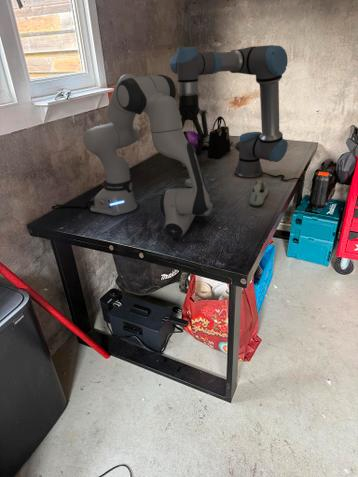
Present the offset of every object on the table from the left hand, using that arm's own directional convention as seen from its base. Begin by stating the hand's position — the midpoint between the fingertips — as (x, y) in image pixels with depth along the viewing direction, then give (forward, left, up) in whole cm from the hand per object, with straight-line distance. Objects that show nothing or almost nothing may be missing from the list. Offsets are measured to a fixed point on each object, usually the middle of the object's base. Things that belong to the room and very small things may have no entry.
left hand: (192, 199), depth 147 cm
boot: (-21, +71, -6) cm, 75 cm away
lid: (0, -1, +9) cm, 9 cm away
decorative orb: (-25, +94, -6) cm, 97 cm away
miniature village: (+19, +115, -6) cm, 117 cm away
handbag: (-4, +92, -6) cm, 92 cm away
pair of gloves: (-17, +117, -6) cm, 119 cm away
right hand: (0, -1, +21) cm, 21 cm away
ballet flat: (+28, +22, -6) cm, 35 cm away
